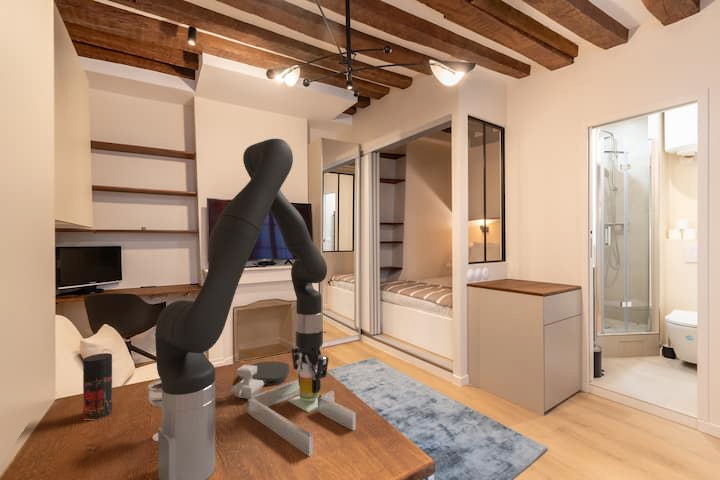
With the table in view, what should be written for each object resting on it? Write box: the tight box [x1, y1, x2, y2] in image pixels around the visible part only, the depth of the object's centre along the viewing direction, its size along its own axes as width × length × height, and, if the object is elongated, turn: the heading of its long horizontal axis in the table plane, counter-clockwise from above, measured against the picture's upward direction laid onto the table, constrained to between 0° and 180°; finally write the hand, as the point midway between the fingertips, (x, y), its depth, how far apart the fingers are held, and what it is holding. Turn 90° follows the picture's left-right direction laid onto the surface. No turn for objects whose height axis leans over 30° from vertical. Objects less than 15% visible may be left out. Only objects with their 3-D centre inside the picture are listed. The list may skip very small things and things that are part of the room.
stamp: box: [230, 364, 264, 400], centre depth 97 cm, size 9×7×8 cm
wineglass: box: [147, 379, 162, 442], centre depth 78 cm, size 7×7×12 cm
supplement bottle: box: [299, 362, 320, 401], centre depth 94 cm, size 5×5×10 cm
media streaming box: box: [239, 361, 290, 387], centre depth 112 cm, size 15×15×3 cm
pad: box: [287, 394, 318, 413], centre depth 93 cm, size 7×9×1 cm
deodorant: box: [82, 352, 113, 420], centre depth 87 cm, size 6×6×15 cm
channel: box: [246, 378, 357, 457], centre depth 85 cm, size 18×26×4 cm
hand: (309, 388), depth 94 cm, fingers closed on supplement bottle, 5 cm apart
